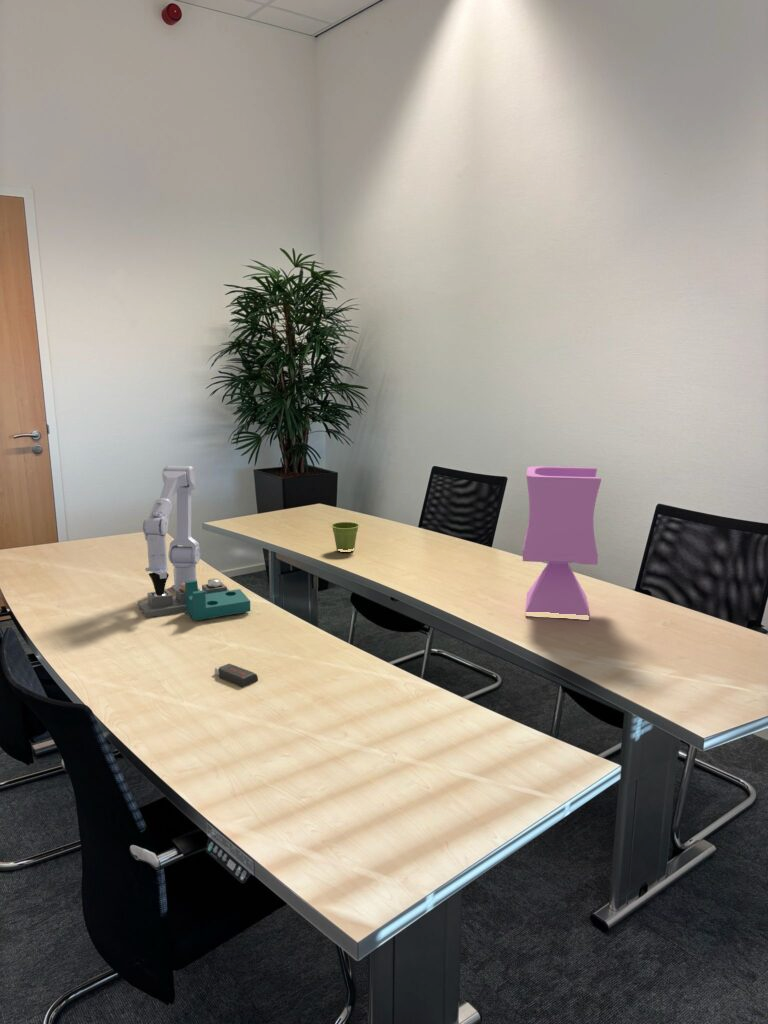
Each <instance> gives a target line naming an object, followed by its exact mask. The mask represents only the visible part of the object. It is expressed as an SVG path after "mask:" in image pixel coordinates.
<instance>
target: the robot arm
mask: <svg viewBox="0 0 768 1024" xmlns="http://www.w3.org/2000/svg"><path fill="white" fill-rule="evenodd" d="M196 473H197V472H196V469H195V468H194V467H193V466H192V465H187V466H185V465H183V466H182V465H181V466H180V465H178V466H177V465H165V466H164V467H163V469H162V475H161V476H162V482H163V486H162V491H161V493H160V498H158V499H156V500H155V502H154V504H153V507H152V509H151V512H150V514H149V516H148V517H147V518H145V519H144V520H143V522H142V523H143V524H142V532H143V534H144V539H145V541H146V544H147V545H146V546H147V555H148V556H147V559H148V567H145V568H144V571H145V572H150V573H148V576H149V577H150V579H151V582H152V585H153V588H154V592H156V594H157V595H163V594H164V590H166V589H165V588H166V583H167V581H168V579H169V575H170V574H169V573H168V570H169V566H168V561H169V562H170V563H171V564H172V567H173V584H172V585H171V587H172V589H174V590H175V589H177V588H181V584H182V583H185V581H192V580H197V564H198V563H199V562H200V560H201V550H200V543H199V542H198V541H197V540H196V539H195V538H193V537H192V491H193V490H195V489H196V485H197V484H196V483H197V481H196V480H197V477H196V476H197V474H196ZM175 495H176V538H174V539H173V540H172V541H171V542H170V543H169V550H168V553H167V542H166V541H167V539H166V536H167V533H168V531H169V522H170V521H169V517H170V514H171V512H172V509H173V503H172V501H173V498H174V497H175ZM167 555H168V556H167ZM167 557H168V558H167ZM198 589H199V590H200V591H201V588H200V586H198Z"/></svg>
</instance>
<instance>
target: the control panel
mask: <svg viewBox="0 0 768 1024" xmlns="http://www.w3.org/2000/svg"><path fill="white" fill-rule="evenodd" d="M202 590H204V591H205V594H210V593H217V592H223V591H230V590H229V588H228V587H227V586H226V585H225V584H224V583H223V582H221V581H220V587H218V588H211V589H209V588H208V583H206V584H205V583H204V584H201V589H200V590H199V589H198V591H202ZM174 591H175V593H174V594H175V595H173V594H172V592H170V590H168V589H165V590H164V593H166V595H165V596H158V597H154V594H155V593H156V592H155V591H151V592H147V594H146V595H147V599H146V600H141V601H140V600H139V601H137V605H138V606H137V608H138V609H139V610H140V611H142V612H141V613H142V615H143V616H144V615H145V616H144V618H146V619H149V618H148V617H150V618H155V617H154V616H156V617H161V615H162V616H167V615H166V614H168V615H173V613H175V614H180V612H181V613H186V612H185V611H186V599H185V593H182V592H181V588H177V589H174Z"/></svg>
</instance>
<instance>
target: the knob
mask: <svg viewBox="0 0 768 1024" xmlns="http://www.w3.org/2000/svg"><path fill="white" fill-rule="evenodd" d="M220 582H221V579H220V578H210V579H208V580H207V584H208V588H209V589H211V588H218V587H220Z"/></svg>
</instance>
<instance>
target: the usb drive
mask: <svg viewBox="0 0 768 1024" xmlns="http://www.w3.org/2000/svg"><path fill="white" fill-rule="evenodd" d="M214 675H217V676H218V678H219V680H220V679H221V680H223V681H226V682H228V683H230V684H233V685H235V686H238V687H241V688H245V687H247V686H250V685H251V684H254V683H256V682H259V678H258V674H257V673H255V672H253V671H250V670H249V669H245V668H242V667H240V666H237V665H235V664H232V663H227V664H221V665H218V666H216V667H214Z"/></svg>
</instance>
